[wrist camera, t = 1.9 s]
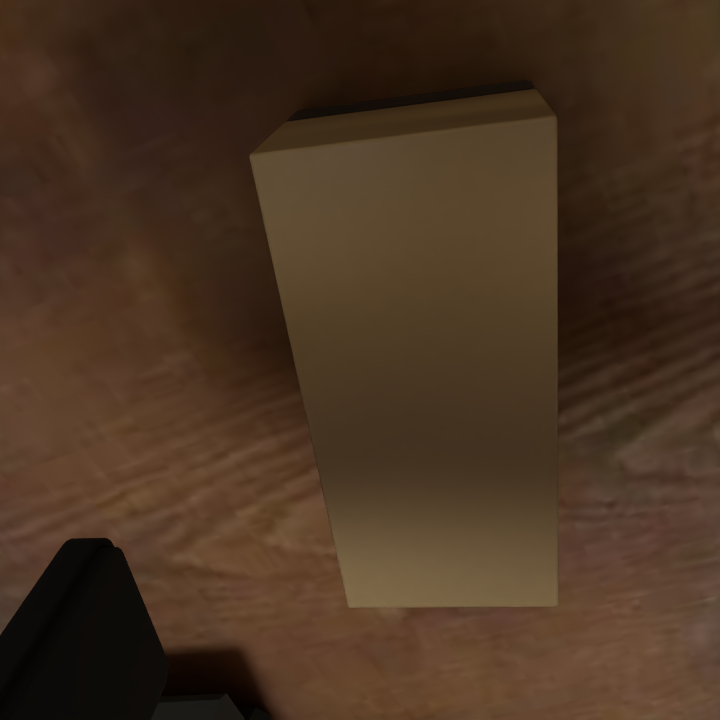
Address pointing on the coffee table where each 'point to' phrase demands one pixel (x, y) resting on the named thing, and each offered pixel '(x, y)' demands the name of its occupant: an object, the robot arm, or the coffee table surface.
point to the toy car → (204, 708)
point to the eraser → (426, 336)
